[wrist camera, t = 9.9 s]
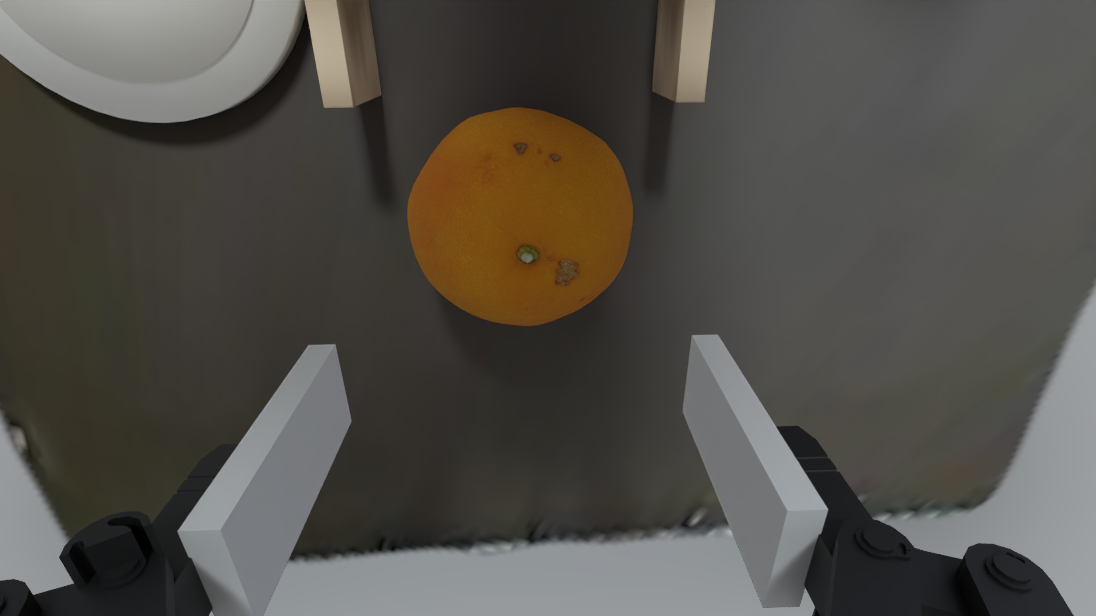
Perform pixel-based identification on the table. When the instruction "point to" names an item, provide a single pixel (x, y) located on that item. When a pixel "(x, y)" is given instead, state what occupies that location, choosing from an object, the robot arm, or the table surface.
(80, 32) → the plate
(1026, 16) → the table surface
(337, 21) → the oak open frame
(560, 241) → the fruit
